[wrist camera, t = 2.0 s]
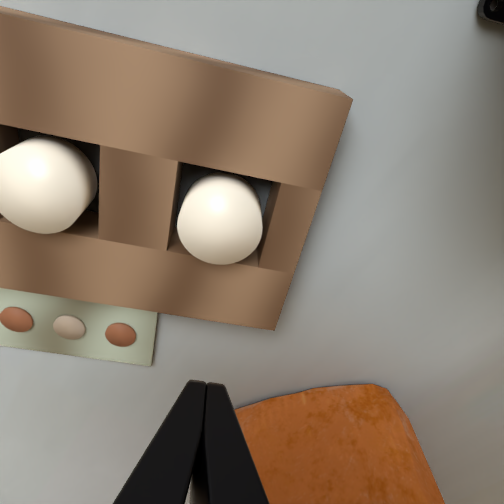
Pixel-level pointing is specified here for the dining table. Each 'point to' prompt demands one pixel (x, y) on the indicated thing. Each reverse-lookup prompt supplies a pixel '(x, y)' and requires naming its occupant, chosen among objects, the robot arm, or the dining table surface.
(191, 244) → the white egg
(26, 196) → the off-white egg
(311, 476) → the bread
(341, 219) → the dining table surface
